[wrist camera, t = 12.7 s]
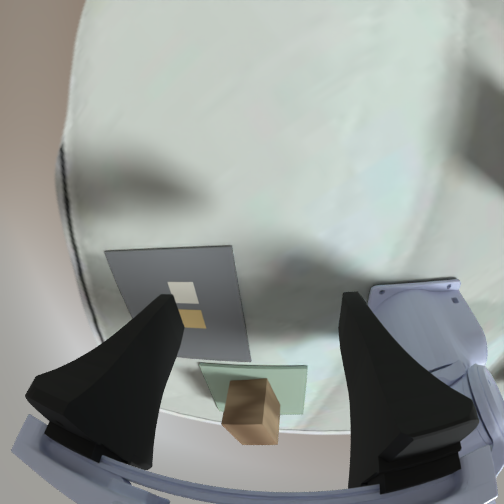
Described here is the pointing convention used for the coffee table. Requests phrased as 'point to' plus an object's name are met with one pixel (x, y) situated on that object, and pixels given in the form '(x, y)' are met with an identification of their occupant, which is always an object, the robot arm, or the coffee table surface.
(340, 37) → the coffee table surface
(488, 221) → the coffee table surface
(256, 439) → the walnut block
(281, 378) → the mat
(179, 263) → the grey flat rectangular plate
